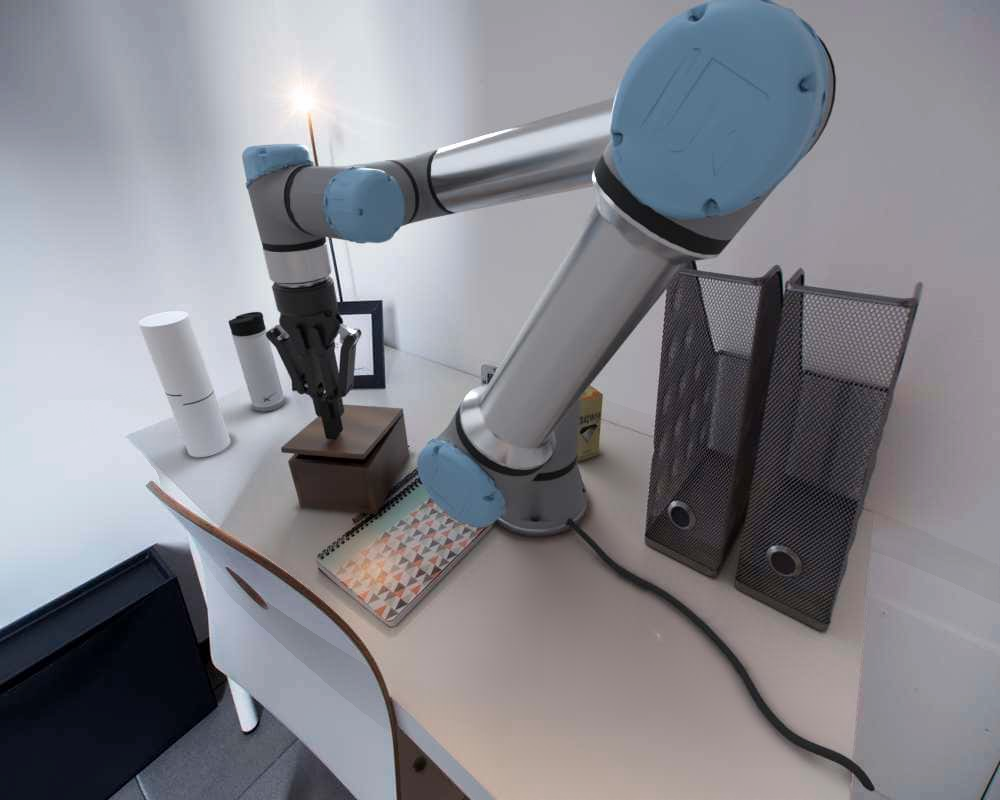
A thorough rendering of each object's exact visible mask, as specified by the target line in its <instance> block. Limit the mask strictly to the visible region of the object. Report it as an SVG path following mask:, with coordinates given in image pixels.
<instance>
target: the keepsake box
mask: <svg viewBox="0 0 1000 800" xmlns="http://www.w3.org/2000/svg"><path fill="white" fill-rule="evenodd" d="M408 443H409V442H408V437H407V427H406V420H405V414H404V412H403V414H402V415H401V416H400V417H399V418H398V420H397V421H396V422H395V423H394V424H393V426H392V427H391V428H390V429H389V430H388V431H387V433H386V434H385V435H384V436H383V437H382V438H381V440H380V441H379V442H378V443H377V444H376V446H375V447H374V448H373V449H372V450H371V451H370V453H369V454H368V455H367V456H366V457H365V458H364V459H352V458H340V457H328V456H316V455H304V454H292V456H291V457H290V458H289V459H288V460H287V463H288V466H289V470H290V475H291V477H292V482H293V485H294V489H295V492H296V495H297V499H298V503H299V507H300V508H307V509H317V510H325V511H337V512H348V513H356V514H366V515H374V516H375V515H378V513H379V511H380V509H381V508H382V506H383V504H384V503H385V501H386V499H387V497H388V496H389V493H390V492H391V490H392V488H393V486H394V484H395V483H396V481H397V479H398V477H399V475H400V474H401V471H402V470H403V468H404V466H405V464H406V463H407V460H408V459H409V457H410V451H409V444H408Z"/></svg>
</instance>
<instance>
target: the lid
mask: <svg viewBox="0 0 1000 800" xmlns="http://www.w3.org/2000/svg"><path fill="white" fill-rule="evenodd" d="M343 406H344V413H343V415H342V416H341V421H342V426H343V431H342V432H341V433H340V434H339V436H338V437H337V438H336V440H335V439H326V436H325V432H324V427H323V423H322V418H321V417H318V416H316V418H314V419H313V420H312V421H311V422H310V423H309V424H307V425H306V426H304V428H302V429H301V430H300V431H299V432H298V433H296V434H295V435H294V436H293V437H292V438H290V439H289V440H288V441H287V442H286V443H284V444H283V445H282V446H281V447H280V450H281V451H280V452H281V453H283V454H292V455H294V454H304V455H316V456H328V457H340V458H352V459H364V458H365V457H366V456H367V455H368V454H369V453H370V451H371V450H372V449H373V448H374V447H375V446H376V444H377V443H378V442H379V441H380V440H381V438H382V437H383V436H384V435H385V434H386V433H387V431H388V430H389V429H390V428H391V427H392V426H393V424H394V423H395V422H396V421H397V420H398V418H399V417H400V416H401V415H402V414H403V413H404V408H402V407H389V406H373V405H360V404H359V405H356V404H344V403H343Z"/></svg>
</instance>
